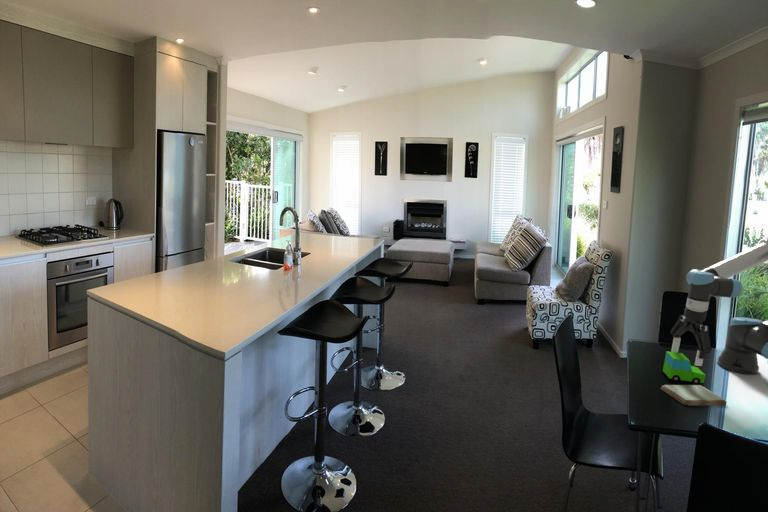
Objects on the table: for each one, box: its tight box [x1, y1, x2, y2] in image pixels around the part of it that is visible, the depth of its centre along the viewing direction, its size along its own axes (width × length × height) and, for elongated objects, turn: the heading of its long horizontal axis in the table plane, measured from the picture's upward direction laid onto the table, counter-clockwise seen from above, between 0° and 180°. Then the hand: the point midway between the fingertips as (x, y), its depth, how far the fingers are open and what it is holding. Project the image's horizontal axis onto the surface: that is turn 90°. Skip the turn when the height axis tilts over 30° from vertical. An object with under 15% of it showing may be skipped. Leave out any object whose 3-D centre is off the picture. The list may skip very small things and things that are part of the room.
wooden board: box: [660, 384, 727, 406], centre depth 188 cm, size 17×13×2 cm
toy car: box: [662, 351, 706, 385], centre depth 203 cm, size 10×13×10 cm
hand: (685, 358), depth 202 cm, fingers open, 13 cm apart
